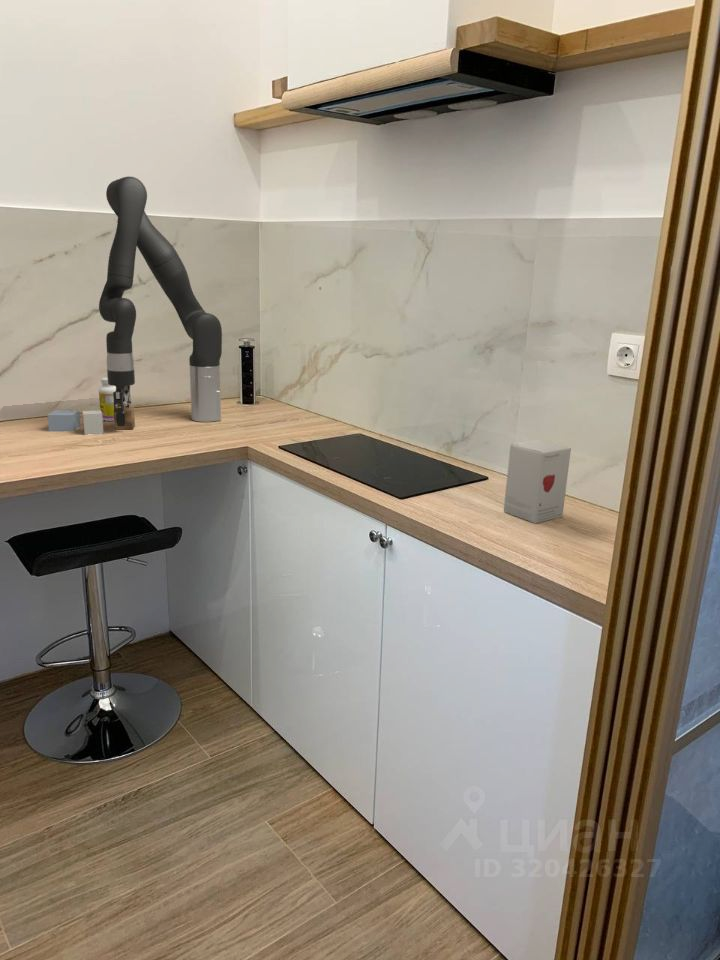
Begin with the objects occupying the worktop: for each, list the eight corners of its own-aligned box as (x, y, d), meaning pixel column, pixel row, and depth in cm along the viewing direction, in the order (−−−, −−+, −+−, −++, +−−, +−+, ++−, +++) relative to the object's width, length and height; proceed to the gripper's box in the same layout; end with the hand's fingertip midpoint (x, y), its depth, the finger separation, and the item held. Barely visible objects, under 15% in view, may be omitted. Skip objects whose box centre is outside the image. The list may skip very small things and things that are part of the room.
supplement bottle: (101, 417, 228) (98, 376, 224) (123, 416, 230) (120, 376, 226) (100, 422, 222) (97, 380, 218) (123, 421, 224) (120, 380, 220)
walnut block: (135, 426, 218) (133, 407, 216) (132, 430, 213) (131, 410, 211) (117, 426, 217) (116, 407, 215) (114, 430, 212) (113, 410, 210)
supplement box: (535, 524, 146) (542, 452, 141) (502, 512, 153) (508, 443, 148) (564, 516, 151) (572, 447, 147) (531, 505, 158) (538, 438, 153)
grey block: (102, 430, 212) (100, 410, 210) (103, 434, 208) (102, 413, 206) (83, 431, 210) (82, 411, 208) (85, 435, 206) (83, 414, 204)
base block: (80, 426, 216) (79, 410, 214) (74, 432, 209) (72, 415, 208) (56, 426, 215) (54, 410, 214) (48, 431, 209) (47, 414, 207)
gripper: (130, 372, 204) (132, 428, 208) (137, 365, 217) (140, 418, 222) (102, 371, 202) (105, 428, 207) (111, 364, 216) (114, 418, 221)
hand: (123, 423), depth 214 cm, fingers open, 8 cm apart
